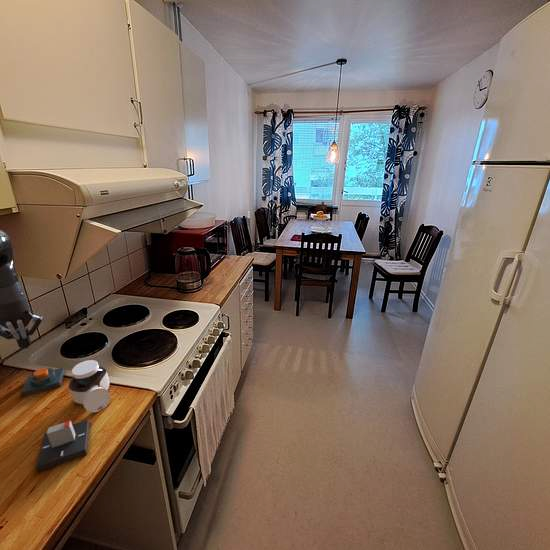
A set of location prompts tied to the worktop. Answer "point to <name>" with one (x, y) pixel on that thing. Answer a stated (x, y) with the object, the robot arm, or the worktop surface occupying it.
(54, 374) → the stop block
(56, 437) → the knob
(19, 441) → the worktop surface
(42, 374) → the stop button
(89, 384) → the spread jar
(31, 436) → the worktop surface
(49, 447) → the fryer panel
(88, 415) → the worktop surface
